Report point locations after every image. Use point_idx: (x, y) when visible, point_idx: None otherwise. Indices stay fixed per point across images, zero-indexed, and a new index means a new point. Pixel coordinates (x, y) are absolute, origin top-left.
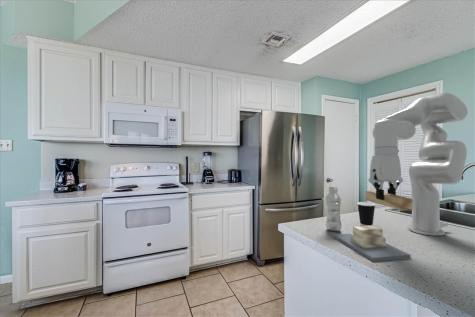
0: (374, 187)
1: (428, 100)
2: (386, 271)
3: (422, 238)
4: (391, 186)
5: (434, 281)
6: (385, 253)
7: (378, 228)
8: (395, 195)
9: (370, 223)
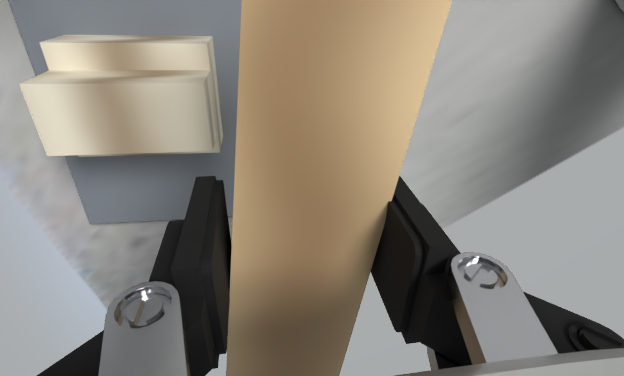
0: (112, 307)
1: None
2: (106, 268)
3: (532, 32)
4: (452, 323)
5: None
6: (169, 197)
7: (190, 145)
8: (329, 332)
9: None
